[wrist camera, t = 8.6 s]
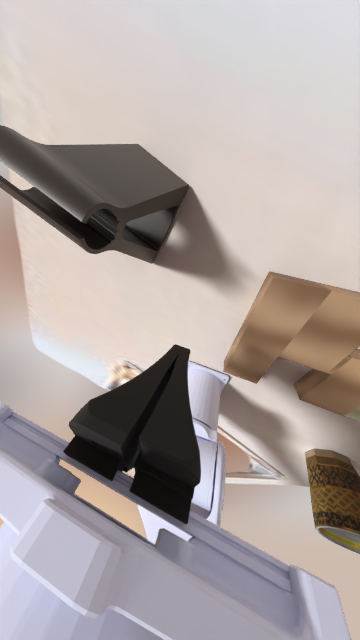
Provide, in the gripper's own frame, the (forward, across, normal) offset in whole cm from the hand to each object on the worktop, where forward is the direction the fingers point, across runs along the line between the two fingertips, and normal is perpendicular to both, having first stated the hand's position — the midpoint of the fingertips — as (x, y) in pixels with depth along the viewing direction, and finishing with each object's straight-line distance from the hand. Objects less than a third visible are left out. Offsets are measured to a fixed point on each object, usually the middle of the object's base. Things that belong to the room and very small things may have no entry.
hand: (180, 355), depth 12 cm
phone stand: (+11, +9, -9) cm, 17 cm away
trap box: (+10, -16, +2) cm, 19 cm away
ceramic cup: (+11, -33, +24) cm, 42 cm away
